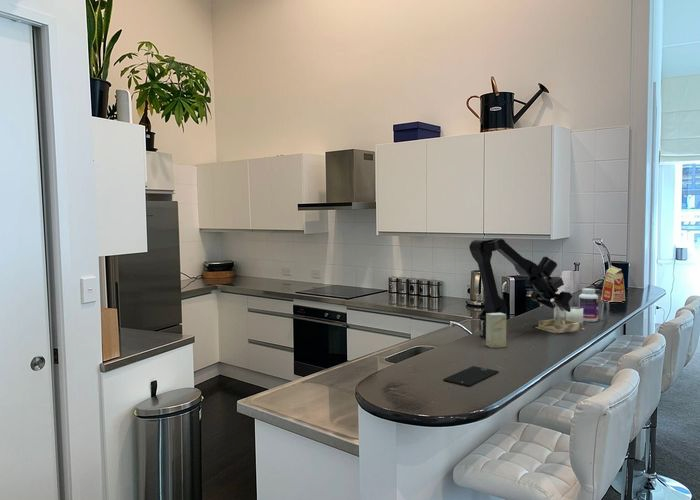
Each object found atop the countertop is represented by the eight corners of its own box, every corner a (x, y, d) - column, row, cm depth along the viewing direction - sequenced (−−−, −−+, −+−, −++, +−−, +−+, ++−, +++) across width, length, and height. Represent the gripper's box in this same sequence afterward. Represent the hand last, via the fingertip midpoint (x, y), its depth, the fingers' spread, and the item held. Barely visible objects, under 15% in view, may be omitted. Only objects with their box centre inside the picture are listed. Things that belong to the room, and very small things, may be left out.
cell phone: (499, 373, 159) (499, 370, 159) (469, 388, 146) (469, 385, 146) (473, 368, 165) (473, 365, 165) (442, 382, 152) (442, 379, 152)
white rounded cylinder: (575, 325, 224) (575, 309, 224) (562, 323, 231) (562, 307, 230) (586, 324, 227) (587, 308, 227) (573, 321, 234) (573, 305, 233)
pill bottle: (600, 322, 231) (600, 290, 230) (581, 322, 232) (581, 290, 231) (595, 319, 239) (595, 288, 238) (577, 318, 240) (577, 287, 239)
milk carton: (600, 301, 289) (601, 265, 287) (614, 300, 291) (614, 264, 290) (613, 303, 280) (614, 266, 279) (627, 302, 283) (627, 266, 282)
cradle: (555, 333, 210) (555, 326, 210) (535, 328, 221) (535, 321, 221) (584, 329, 216) (584, 322, 216) (564, 324, 227) (564, 318, 227)
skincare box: (491, 348, 188) (491, 315, 188) (485, 345, 193) (485, 313, 192) (506, 346, 190) (507, 314, 189) (500, 344, 194) (500, 312, 194)
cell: (562, 329, 215) (562, 297, 214) (552, 327, 219) (551, 296, 218) (567, 327, 219) (567, 295, 218) (556, 326, 222) (556, 294, 221)
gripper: (569, 272, 207) (589, 298, 212) (536, 268, 224) (555, 292, 229) (553, 293, 204) (574, 318, 209) (521, 288, 222) (541, 311, 226)
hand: (561, 309), depth 218 cm, fingers open, 9 cm apart
